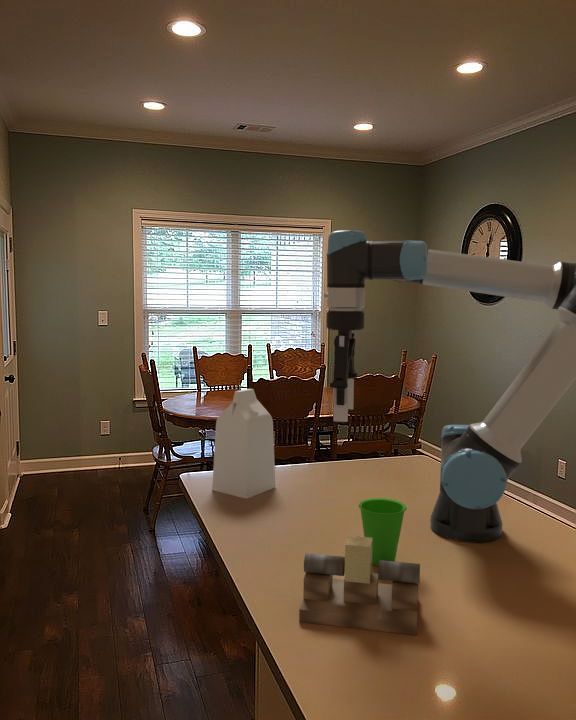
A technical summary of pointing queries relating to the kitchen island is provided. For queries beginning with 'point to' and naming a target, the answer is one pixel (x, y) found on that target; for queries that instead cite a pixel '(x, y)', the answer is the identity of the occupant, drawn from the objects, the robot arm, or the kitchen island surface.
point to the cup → (382, 526)
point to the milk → (244, 448)
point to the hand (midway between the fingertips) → (343, 414)
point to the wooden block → (358, 559)
